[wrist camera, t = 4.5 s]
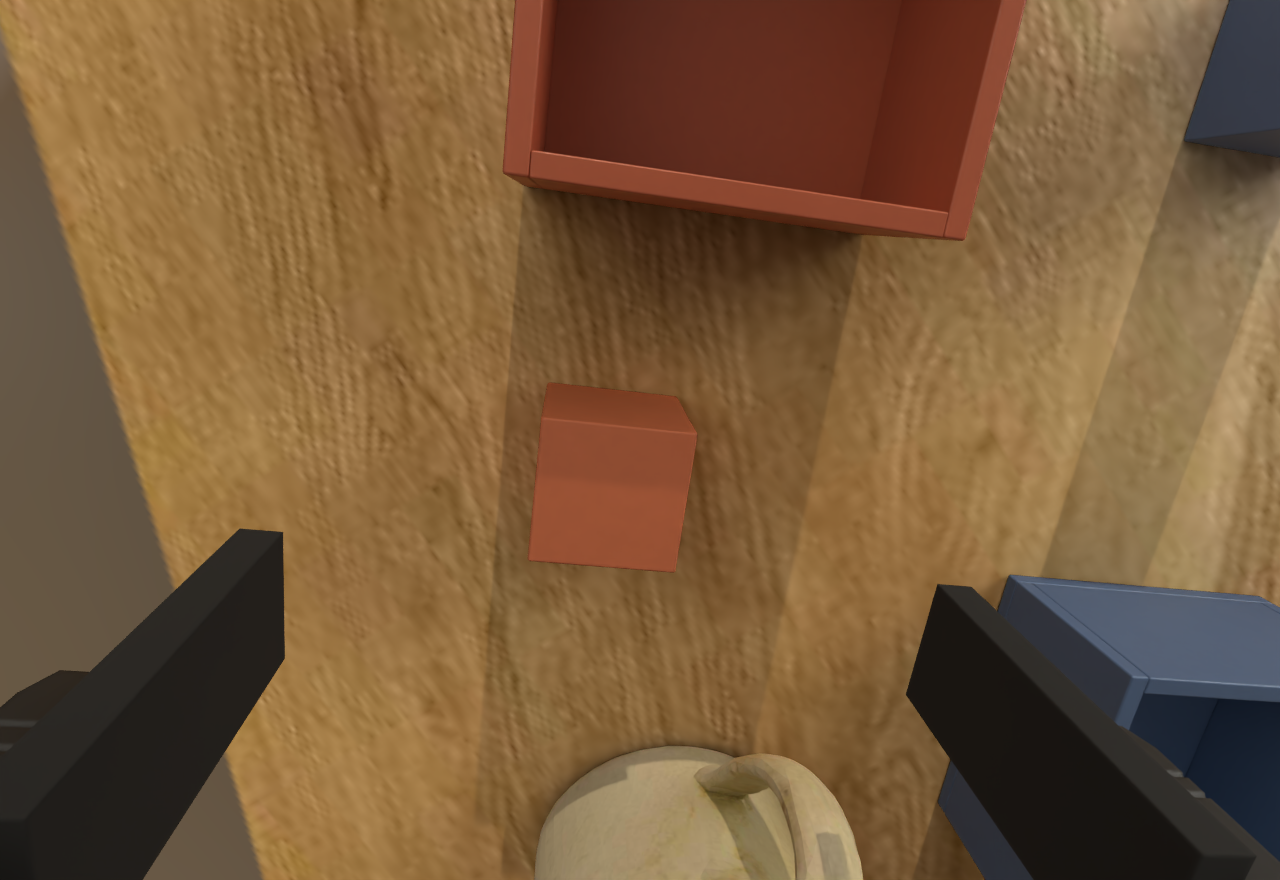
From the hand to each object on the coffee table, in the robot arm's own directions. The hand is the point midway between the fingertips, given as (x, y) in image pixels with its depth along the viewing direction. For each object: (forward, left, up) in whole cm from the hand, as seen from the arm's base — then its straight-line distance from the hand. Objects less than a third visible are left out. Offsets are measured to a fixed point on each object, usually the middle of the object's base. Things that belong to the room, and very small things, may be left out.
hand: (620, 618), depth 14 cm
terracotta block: (0, 0, -11) cm, 11 cm away
